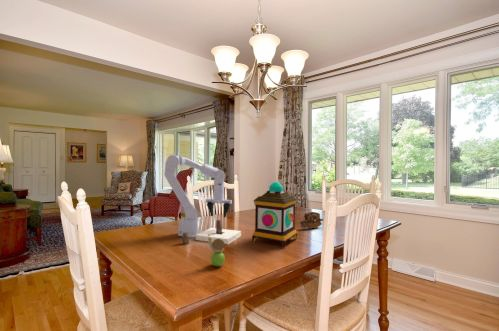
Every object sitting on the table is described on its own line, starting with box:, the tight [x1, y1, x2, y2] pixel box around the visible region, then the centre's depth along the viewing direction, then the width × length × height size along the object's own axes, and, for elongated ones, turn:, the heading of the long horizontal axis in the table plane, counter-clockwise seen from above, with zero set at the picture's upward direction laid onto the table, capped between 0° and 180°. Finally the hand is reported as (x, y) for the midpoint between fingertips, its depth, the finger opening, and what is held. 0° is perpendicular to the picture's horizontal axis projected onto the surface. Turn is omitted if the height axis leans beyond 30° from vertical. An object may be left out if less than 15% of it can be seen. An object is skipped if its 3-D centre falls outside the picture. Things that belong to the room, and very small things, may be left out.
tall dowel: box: [215, 219, 223, 234], centre depth 136 cm, size 3×3×9 cm
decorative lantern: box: [251, 180, 298, 249], centre depth 132 cm, size 20×20×30 cm
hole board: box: [195, 227, 242, 245], centre depth 136 cm, size 18×16×2 cm
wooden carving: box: [299, 211, 324, 229], centre depth 158 cm, size 16×5×10 cm, turn 120°
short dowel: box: [182, 232, 190, 246], centre depth 125 cm, size 3×3×5 cm
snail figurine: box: [208, 234, 226, 267], centre depth 99 cm, size 5×6×12 cm
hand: (218, 216), depth 144 cm, fingers open, 7 cm apart
